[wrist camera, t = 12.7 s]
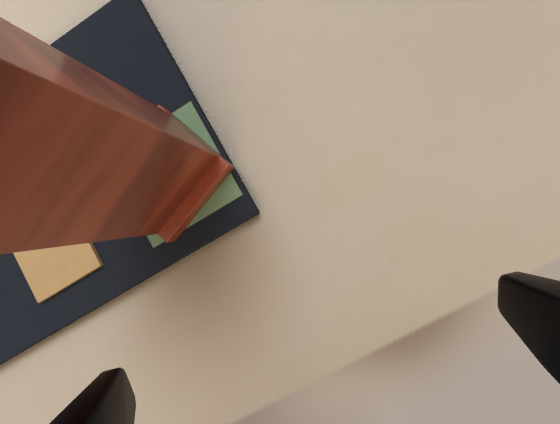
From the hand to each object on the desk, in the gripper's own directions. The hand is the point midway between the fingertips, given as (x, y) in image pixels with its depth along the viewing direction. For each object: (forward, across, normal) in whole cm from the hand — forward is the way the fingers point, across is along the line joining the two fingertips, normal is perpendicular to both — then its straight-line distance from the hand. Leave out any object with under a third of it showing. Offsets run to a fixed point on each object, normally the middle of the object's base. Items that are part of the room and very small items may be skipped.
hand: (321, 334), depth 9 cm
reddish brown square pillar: (+13, +4, -2) cm, 14 cm away
